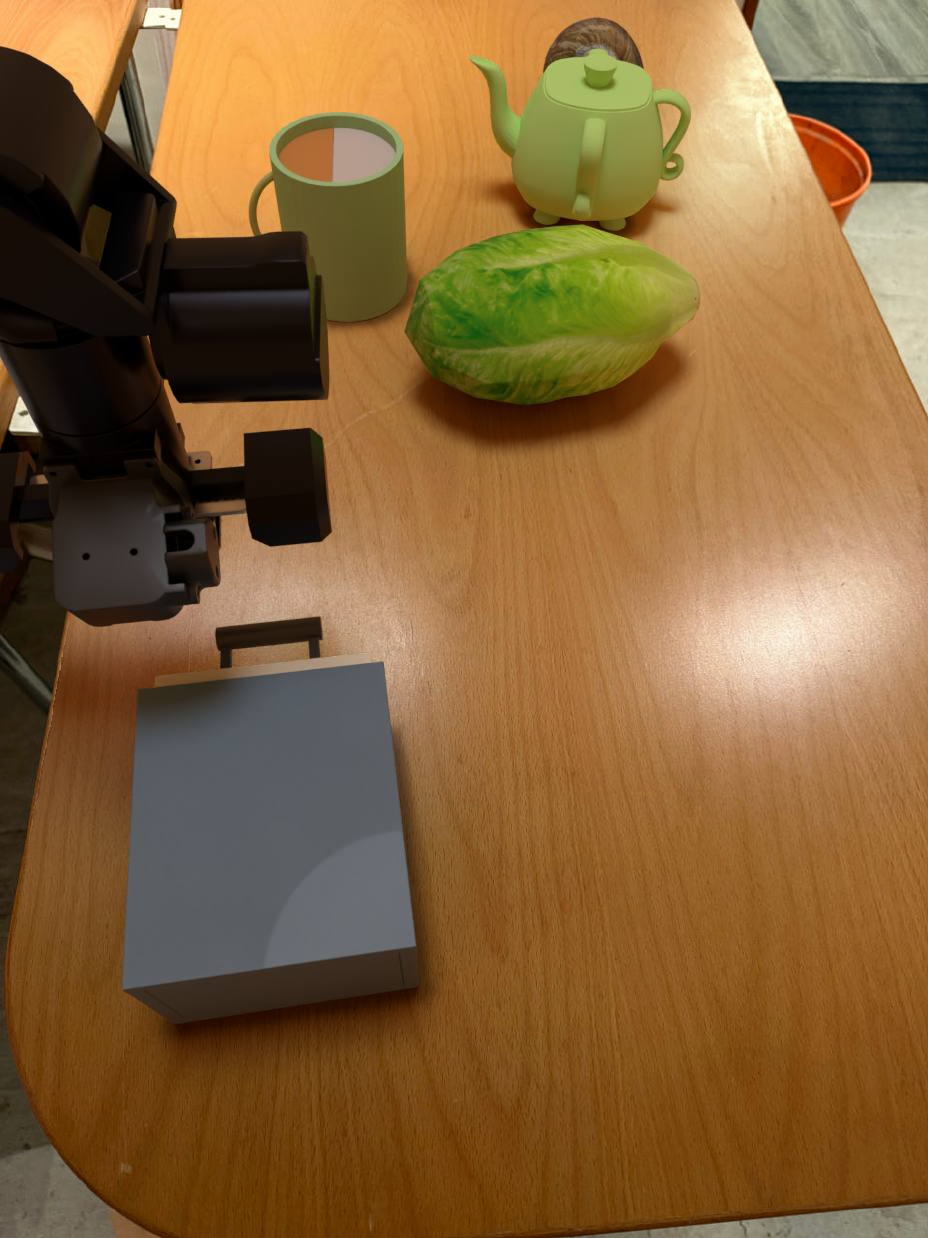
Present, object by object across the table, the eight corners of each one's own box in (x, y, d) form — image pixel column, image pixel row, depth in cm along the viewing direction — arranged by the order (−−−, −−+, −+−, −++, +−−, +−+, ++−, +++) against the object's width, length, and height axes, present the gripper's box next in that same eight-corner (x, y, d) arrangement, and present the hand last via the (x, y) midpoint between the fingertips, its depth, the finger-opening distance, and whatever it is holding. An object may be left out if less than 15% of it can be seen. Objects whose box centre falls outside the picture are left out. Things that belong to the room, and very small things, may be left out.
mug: (405, 244, 81) (401, 108, 71) (408, 320, 75) (404, 185, 65) (265, 246, 80) (240, 109, 70) (257, 323, 75) (230, 187, 65)
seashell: (550, 135, 92) (559, 51, 85) (530, 87, 97) (538, 4, 90) (656, 127, 93) (673, 44, 86) (631, 81, 98) (646, -1, 91)
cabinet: (179, 761, 53) (137, 688, 46) (390, 735, 55) (383, 660, 47) (173, 1024, 46) (121, 990, 38) (419, 987, 47) (416, 946, 39)
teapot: (549, 271, 80) (567, 129, 69) (462, 190, 86) (466, 48, 75) (687, 215, 85) (723, 75, 74) (596, 142, 91) (617, 4, 80)
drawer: (188, 673, 56) (157, 608, 50) (371, 652, 57) (363, 586, 51) (182, 972, 46) (144, 938, 40) (402, 940, 47) (398, 901, 41)
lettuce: (708, 414, 70) (753, 288, 61) (424, 458, 67) (422, 332, 57) (652, 309, 77) (684, 179, 67) (391, 344, 74) (385, 213, 64)
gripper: (-178, 559, 34) (-6, 737, 47) (321, 511, 36) (351, 696, 49) (-119, 357, 40) (19, 566, 53) (306, 326, 41) (337, 535, 55)
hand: (180, 592), depth 52 cm, fingers closed
